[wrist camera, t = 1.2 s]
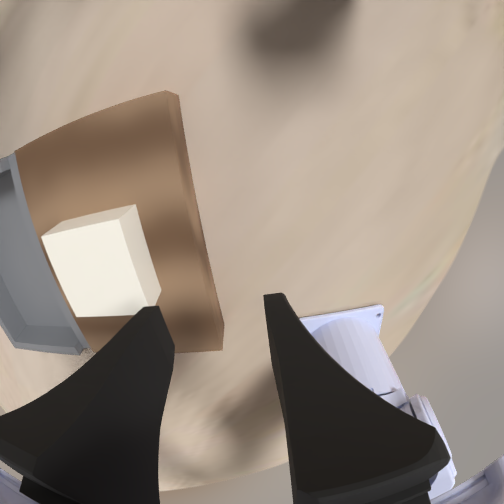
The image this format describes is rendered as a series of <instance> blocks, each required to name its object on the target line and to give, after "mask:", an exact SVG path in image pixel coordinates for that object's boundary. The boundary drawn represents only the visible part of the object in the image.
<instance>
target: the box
mask: <svg viewBox="0 0 504 504" xmlns="http://www.w3.org/2000/svg"><path fill="white" fill-rule="evenodd" d="M0 325H1V327H2V328H3V330H4V332H5V333H6V335H7V336H8V338H9V340H10V341H11V343H12V344H13V346H14V347H15V348H19V349H26V350H33V351H41V352H49V353H59V354H70V355H80V354H81V352H82V350H83V348H91V347H90V346H89V344H88V342H87V341H86V339H85V337H84V335H83V334H82V332H81V330H80V329H79V327H78V325H77V323H76V321H75V319H74V318H73V316H72V314H71V312H70V310H69V308H68V306H67V304H66V302H65V300H64V298H63V296H62V294H61V292H60V290H59V288H58V286H57V283H56V281H55V279H54V277H53V275H52V272H51V270H50V268H49V265H48V263H47V260H46V258H45V255H44V253H43V250H42V248H41V245H40V242H39V239H38V237H37V234H36V231H35V228H34V225H33V222H32V219H31V216H30V212H29V209H28V206H27V202H26V199H25V195H24V191H23V187H22V183H21V179H20V175H19V170H18V166H17V161H16V156H15V153H13V154H11V155H9V156H8V157H5V158H2V159H0Z"/></svg>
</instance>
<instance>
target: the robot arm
mask: <svg viewBox="0 0 504 504" xmlns="http://www.w3.org/2000/svg"><path fill="white" fill-rule="evenodd" d="M263 296H264V307H265V314H266V322H267V330H268V338H269V346H270V353H271V361H272V367H273V371H274V376H275V380H276V385H277V390H278V394H279V399H280V403H281V408H282V412H283V417H284V423H285V430H286V439H287V448H288V457H289V465H290V475H291V485H292V494H293V504H504V454H503V455H502V456H500V457H499V458H498V459H496V460H495V461H494V462H492V463H491V464H490V465H488V466H487V467H486V468H485V469H484V470H482V471H480V472H479V473H477V474H476V475H474V476H473V477H471V478H469V479H468V480H466V481H465V482H463V483H462V484H460V485H458V486H456V487H455V488H453V489H452V487H453V486H454V484H455V478H454V477H455V476H456V474H457V472H456V469H455V466H454V464H453V461H452V458H451V457H452V454H451V451H450V449H449V446H448V444H447V441H446V439H445V436H444V434H443V432H442V430H441V427H440V425H439V423H438V421H437V418H436V416H435V414H434V412H433V410H432V408H431V406H430V404H429V401H428V399H427V397H425V396H419V395H418V394H415V395H413V396H412V397H410V399H409V397H408V396H407V394H406V393H405V391H404V389H403V387H402V385H401V382H400V380H399V378H398V376H397V374H396V372H395V369H394V367H393V365H392V363H391V361H390V359H389V357H388V355H387V353H386V351H385V349H384V347H383V345H382V343H381V341H380V339H379V332H380V328H381V323H382V318H383V313H384V307H383V306H382V305H381V304H379V305H374V306H368V307H363V308H358V309H352V310H347V311H341V312H335V313H329V314H323V315H317V316H310V317H303V318H298V317H297V315H296V314H295V312H294V311H293V309H292V307H291V306H290V304H289V302H288V300H287V298H286V296H285V295H284V294H283V293H275V294H267V295H263ZM378 313H379V314H378ZM377 314H378V315H377ZM174 353H175V344H174V342H173V340H172V337H171V335H170V333H169V330H168V328H167V325H166V323H165V320H164V318H163V315H162V313H161V310H160V307H159V306H146V307H143V308H142V309H141V310H139V311H138V312H137V313H136V314H135V315H134V316H133V317H132V318H131V319H130V320H129V321H128V322H127V323H126V324H125V325H124V326H123V327H122V328H121V329H120V330H119V331H118V332H117V333H116V334H115V335H114V337H113V338H112V339H111V340H110V341H109V342H108V343H107V344H106V345H105V346H103V347H102V348H101V349H100V350H99V351H98V352H97V353H96V354H95V355H94V356H93V357H92V358H91V359H90V360H89V361H88V362H87V363H85V364H84V365H83V366H82V367H81V368H80V369H78V370H77V371H76V372H75V373H73V374H72V375H71V376H70V377H68V378H67V379H66V380H65V381H63V382H62V383H60V384H59V385H57V386H56V387H54V388H53V389H51V390H50V391H49V392H47V393H46V394H44V395H42V396H41V397H39V398H37V399H36V400H34V401H32V402H30V403H28V404H26V405H24V406H22V407H20V408H18V409H16V410H14V411H11V412H9V413H6V414H4V415H2V416H0V460H1V461H3V462H4V463H5V464H7V465H8V466H10V467H11V468H12V469H14V470H15V471H17V472H18V473H20V474H21V475H23V479H22V482H21V481H19V480H18V479H16V478H15V477H13V476H12V475H10V474H9V473H7V472H6V471H4V470H3V469H1V468H0V504H160V500H159V484H158V452H159V437H160V427H161V421H162V416H163V411H164V406H165V402H166V398H167V393H168V389H169V384H170V380H171V376H172V371H173V363H174Z"/></svg>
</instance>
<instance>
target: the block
mask: <svg viewBox="0 0 504 504" xmlns="http://www.w3.org/2000/svg"><path fill="white" fill-rule="evenodd" d="M41 238H42V241H43V244H44V246H45V249H46V251H47V254H48V257H49V259H50V262H51V264H52V266H53V269H54V271H55V273H56V276H57V278H58V280H59V282H60V285H61V287H62V289H63V291H64V293H65V295H66V297H67V299H68V301H69V303H70V305H71V307H72V309H73V311H74V313H75V315H76V317H97V316H123V315H135V314H136V313H137V312H138V311H139V310H141V309H142V308H143V307H146V306H155V305H156V302H157V300H158V297H159V295H160V293H161V287H160V285H159V282H158V279H157V276H156V272H155V269H154V266H153V263H152V260H151V257H150V253H149V250H148V247H147V243H146V240H145V237H144V233H143V230H142V226H141V222H140V219H139V215H138V211H137V207H136V204H134V205H129V206H124V207H120V208H115V209H111V210H106V211H102V212H98V213H93V214H89V215H85V216H81V217H77V218H73V219H69V220H65V221H62V222H60V223H59V224H57V225H56V226H55V227H53V228H52V229H51V230H49V231H48V232H47V233H45V234H44V235H43V236H41Z"/></svg>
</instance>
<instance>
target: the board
mask: <svg viewBox="0 0 504 504" xmlns="http://www.w3.org/2000/svg"><path fill="white" fill-rule="evenodd" d="M15 156H16V161H17V166H18V170H19V175H20V179H21V183H22V187H23V191H24V195H25V199H26V202H27V206H28V209H29V212H30V216H31V219H32V222H33V225H34V228H35V231H36V234H37V237H38V239H39V242H40V245H41V248H42V250H43V253H44V255H45V258H46V260H47V263H48V265H49V268H50V270H51V272H52V275H53V277H54V279H55V281H56V283H57V286H58V288H59V290H60V292H61V294H62V296H63V298H64V300H65V302H66V304H67V306H68V308H69V310H70V312H71V314H72V316H73V318H74V319H75V321H76V323H77V325H78V327H79V329H80V330H81V332H82V334H83V335H84V337H85V339H86V341H87V342H88V344H89V346H90V347H91V349H92V350H93V352H98V351H99V350H100V349H101V348H102V347H103V346H105V345H106V344H107V343H108V342H109V341H110V340H111V339H112V338H113V337H114V335H115V334H116V333H117V332H118V331H119V330H120V329H121V328H122V327H123V326H124V325H125V324H126V323H127V322H128V321H129V320H130V319H131V318H132V317H133V316H134V315H123V316H97V317H76V315H75V313H74V311H73V309H72V307H71V305H70V303H69V301H68V299H67V297H66V295H65V293H64V291H63V289H62V287H61V285H60V282H59V280H58V278H57V276H56V273H55V271H54V269H53V266H52V264H51V262H50V259H49V257H48V254H47V251H46V249H45V246H44V244H43V241H42V238H41V236H43V235H44V234H45V233H47V232H48V231H49V230H51V229H52V228H53V227H55V226H56V225H57V224H59V223H60V222H62V221H65V220H69V219H73V218H77V217H81V216H85V215H89V214H93V213H98V212H102V211H106V210H111V209H115V208H120V207H124V206H129V205H134V204H136V207H137V211H138V215H139V219H140V222H141V226H142V230H143V233H144V237H145V240H146V243H147V247H148V250H149V253H150V257H151V260H152V263H153V266H154V269H155V272H156V276H157V279H158V282H159V285H160V287H161V293H160V295H159V297H158V300H157V302H156V305H155V306H159V307H160V310H161V313H162V315H163V318H164V320H165V323H166V325H167V328H168V330H169V333H170V335H171V337H172V340H173V342H174V344H175V353H185V352H205V351H220V350H222V349H223V336H224V322H223V318H222V313H221V309H220V305H219V301H218V297H217V293H216V289H215V284H214V280H213V276H212V271H211V267H210V262H209V258H208V253H207V249H206V244H205V240H204V235H203V230H202V225H201V221H200V216H199V211H198V206H197V201H196V195H195V190H194V185H193V180H192V174H191V169H190V163H189V158H188V152H187V146H186V140H185V134H184V128H183V122H182V116H181V109H180V102H179V96H178V95H177V94H174V93H171V92H169V91H166V90H165V91H161V92H158V93H154V94H150V95H147V96H143V97H140V98H136V99H133V100H130V101H127V102H124V103H121V104H118V105H115V106H112V107H109V108H106V109H104V110H101V111H98V112H96V113H93V114H90V115H88V116H85V117H83V118H81V119H78V120H76V121H73V122H71V123H69V124H67V125H64V126H62V127H60V128H58V129H56V130H54V131H52V132H50V133H48V134H46V135H44V136H42V137H40V138H38V139H36V140H34V141H32V142H30V143H28V144H26V145H25V146H23V147H21V148H19V149H18V150H16V151H15Z"/></svg>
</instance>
